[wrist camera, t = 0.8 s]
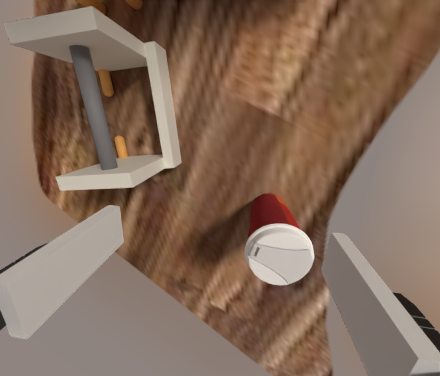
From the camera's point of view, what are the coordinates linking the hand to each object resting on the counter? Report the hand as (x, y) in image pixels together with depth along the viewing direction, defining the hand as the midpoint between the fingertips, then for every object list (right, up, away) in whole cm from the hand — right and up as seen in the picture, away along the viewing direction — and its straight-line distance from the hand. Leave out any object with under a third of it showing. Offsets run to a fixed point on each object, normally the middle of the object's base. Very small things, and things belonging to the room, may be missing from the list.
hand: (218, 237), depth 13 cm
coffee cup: (+9, -1, +25) cm, 27 cm away
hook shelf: (-14, +16, +23) cm, 31 cm away
